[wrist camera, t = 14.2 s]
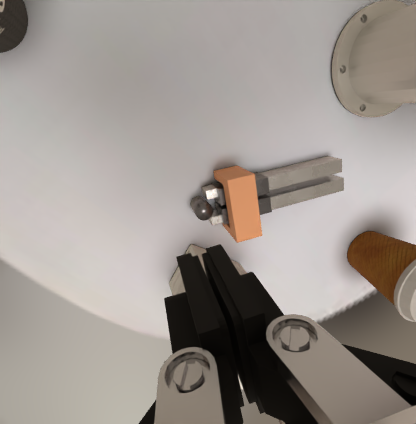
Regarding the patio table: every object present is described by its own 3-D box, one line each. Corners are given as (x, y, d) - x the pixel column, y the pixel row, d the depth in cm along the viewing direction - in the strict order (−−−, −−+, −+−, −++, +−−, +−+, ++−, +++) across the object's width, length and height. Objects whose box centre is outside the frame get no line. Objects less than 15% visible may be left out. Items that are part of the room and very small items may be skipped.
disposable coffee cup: (342, 286, 46) (409, 340, 35) (333, 236, 43) (404, 279, 32) (393, 262, 47) (473, 307, 36) (388, 211, 44) (475, 244, 33)
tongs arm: (207, 218, 37) (213, 227, 34) (204, 204, 36) (211, 212, 33) (329, 186, 40) (344, 191, 37) (329, 172, 39) (344, 177, 36)
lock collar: (222, 225, 37) (237, 242, 32) (213, 171, 35) (227, 180, 30) (244, 219, 38) (262, 235, 33) (237, 165, 35) (254, 173, 30)
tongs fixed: (192, 213, 36) (198, 222, 33) (187, 189, 35) (192, 196, 32) (328, 177, 39) (344, 183, 36) (327, 154, 38) (344, 158, 35)
